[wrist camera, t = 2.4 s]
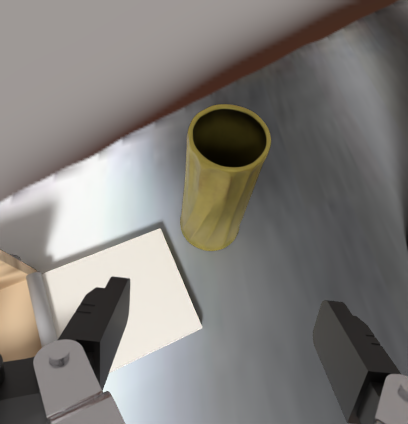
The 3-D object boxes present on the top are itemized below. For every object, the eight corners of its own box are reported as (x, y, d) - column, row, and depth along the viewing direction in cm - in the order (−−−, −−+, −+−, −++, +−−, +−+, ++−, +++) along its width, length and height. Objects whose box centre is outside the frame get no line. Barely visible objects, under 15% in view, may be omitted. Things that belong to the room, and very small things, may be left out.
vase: (179, 197, 33) (179, 97, 20) (235, 196, 34) (271, 98, 21) (181, 252, 30) (182, 178, 18) (242, 250, 31) (286, 177, 18)
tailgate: (161, 232, 31) (159, 224, 29) (201, 328, 28) (203, 326, 26) (34, 281, 28) (23, 276, 26) (61, 396, 25) (51, 399, 23)
